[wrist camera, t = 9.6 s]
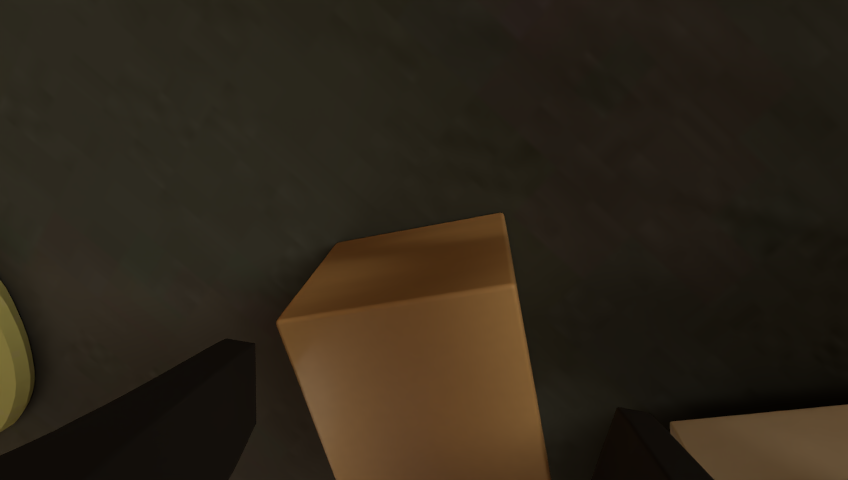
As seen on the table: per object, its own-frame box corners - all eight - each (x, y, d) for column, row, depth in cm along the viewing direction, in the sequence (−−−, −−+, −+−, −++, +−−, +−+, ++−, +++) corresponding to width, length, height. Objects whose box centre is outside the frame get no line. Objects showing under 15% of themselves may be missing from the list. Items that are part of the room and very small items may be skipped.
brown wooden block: (388, 409, 14) (355, 536, 10) (335, 241, 12) (272, 322, 8) (535, 392, 13) (559, 523, 9) (503, 210, 11) (516, 284, 8)
